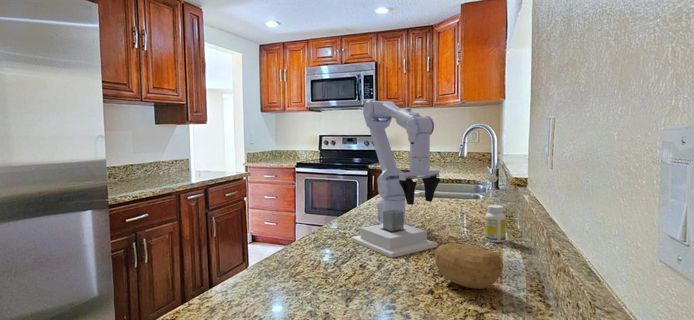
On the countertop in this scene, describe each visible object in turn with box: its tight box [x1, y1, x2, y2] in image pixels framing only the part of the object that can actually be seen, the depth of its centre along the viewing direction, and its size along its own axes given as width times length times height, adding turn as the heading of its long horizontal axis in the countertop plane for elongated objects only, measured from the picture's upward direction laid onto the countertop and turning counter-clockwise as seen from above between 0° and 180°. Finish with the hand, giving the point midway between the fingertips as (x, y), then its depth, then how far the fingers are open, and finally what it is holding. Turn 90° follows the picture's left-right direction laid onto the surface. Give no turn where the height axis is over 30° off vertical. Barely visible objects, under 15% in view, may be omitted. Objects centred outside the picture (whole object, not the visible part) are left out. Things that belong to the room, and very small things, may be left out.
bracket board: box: [350, 224, 438, 259], centre depth 102 cm, size 18×16×4 cm
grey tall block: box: [383, 210, 404, 233], centre depth 102 cm, size 4×4×8 cm
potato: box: [433, 242, 504, 290], centre depth 74 cm, size 10×14×8 cm
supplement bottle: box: [484, 204, 507, 243], centre depth 104 cm, size 5×5×10 cm
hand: (419, 202), depth 110 cm, fingers open, 7 cm apart
